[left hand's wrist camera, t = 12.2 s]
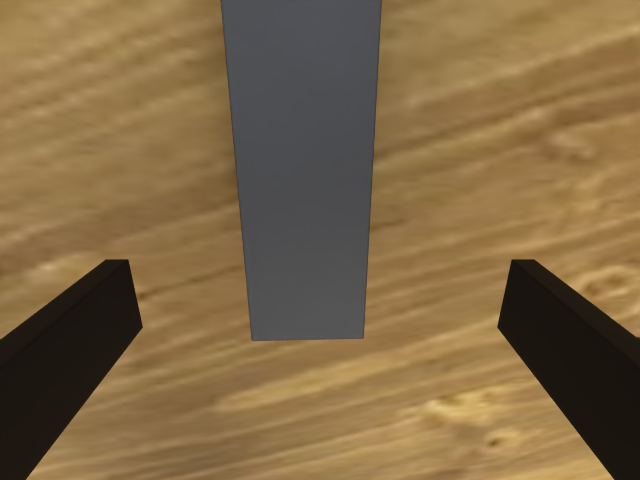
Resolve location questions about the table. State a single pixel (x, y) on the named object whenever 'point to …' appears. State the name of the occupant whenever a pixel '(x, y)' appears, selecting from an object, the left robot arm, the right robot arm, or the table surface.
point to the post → (304, 159)
